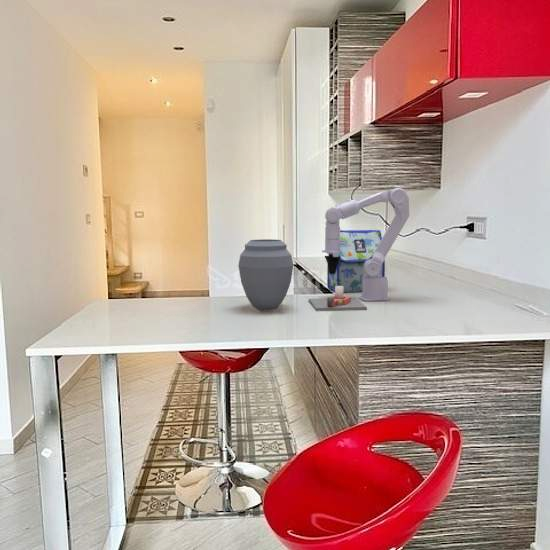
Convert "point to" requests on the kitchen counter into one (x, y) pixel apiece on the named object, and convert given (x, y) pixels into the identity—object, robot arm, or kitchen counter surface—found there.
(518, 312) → the kitchen counter surface
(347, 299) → the square frame with handle
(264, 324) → the kitchen counter surface
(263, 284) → the vase
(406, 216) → the robot arm
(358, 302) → the station
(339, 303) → the tan tapered cylinder
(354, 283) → the lunch bag
